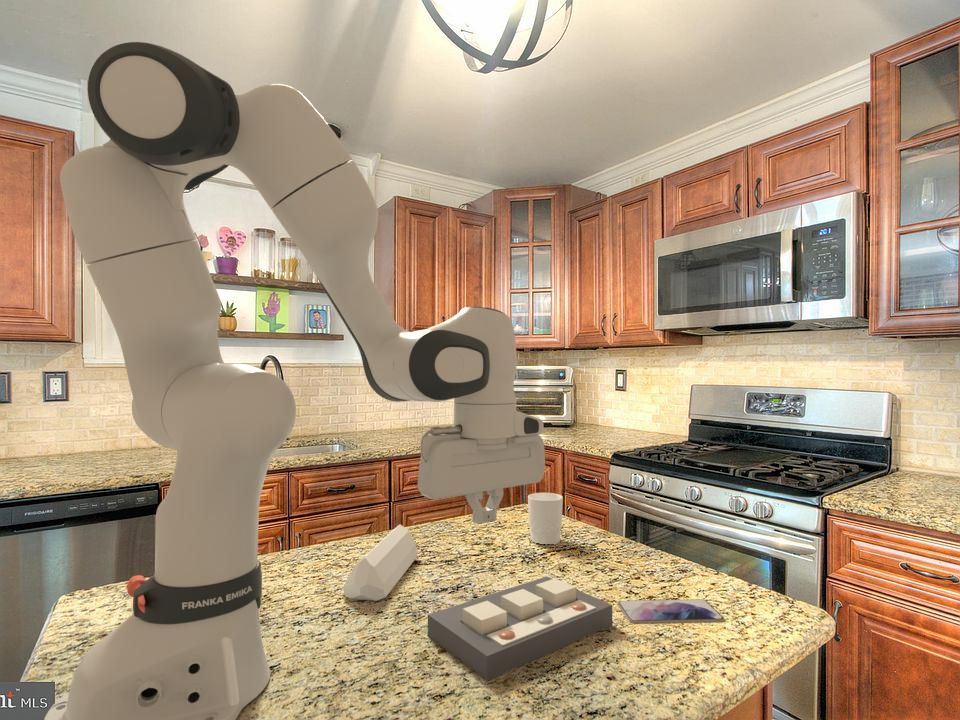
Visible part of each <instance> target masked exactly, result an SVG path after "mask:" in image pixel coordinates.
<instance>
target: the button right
mask: <svg viewBox="0 0 960 720" xmlns="http://www.w3.org/2000/svg"><path fill="white" fill-rule="evenodd" d="M576 587H577V586H574V585H571V584H570V583H567V582H565V581H563V580H560V579H558V578H552V580H549V581H546V582H543V583H540V584H537V585H536V595H537V596H539V597H541V598H543V602H545V603H547V604H549V605H551V606H553V607H559V606H561V605H564V604H567V603H569V602H572V601H575V600H576V589H577V588H576Z"/></svg>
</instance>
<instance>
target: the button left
mask: <svg viewBox="0 0 960 720" xmlns="http://www.w3.org/2000/svg"><path fill="white" fill-rule="evenodd" d="M463 624H464V625H466V626H467V627H469V628H470V629H472V630H473V631H475V632H476V633H478V634H479V635H484V634H487V633H489V632H492V631H495V630H497V629H500V628H503V627H505V626H507V611H505V610H503V609H501V608H499V607H498V606H496V605H494V604H492V603H491V602H489V601H485V602H482V603H479V604H476V605H473V606H469V607H466V608H463Z"/></svg>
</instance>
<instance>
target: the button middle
mask: <svg viewBox="0 0 960 720" xmlns="http://www.w3.org/2000/svg"><path fill="white" fill-rule="evenodd" d="M501 609H503V610H505V611H507V613H508V614H509V615H511V616H513V617H515V618H516V619H518V620H520V621H521V620H524V619H527V618H529V617H532V616H535V615H537V614H540V613H543V598H541V597H539V596H537V595H535V594H533V593H531V592H529V591H526V590H524V589H521V590H518V591H515V592H512V593H509V594H506V595H503V596H501Z"/></svg>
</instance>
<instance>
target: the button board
mask: <svg viewBox="0 0 960 720" xmlns="http://www.w3.org/2000/svg"><path fill="white" fill-rule="evenodd" d="M552 579H553V578H552V577H549V576H543V577H541V578H538V579H533V580H532V581H528V582H524V583H522V584H518V585H515V586H513V587H510V588H506V589H503V590H500V591H497V592H494V593H491V594H488V595H485V596H484V595H483V596H482V597H478V598H474V599H472V600H469V601H466V602H463V603H460V604H459V603H458V604H456V605H453V606H450V607H447V608H445V609H441V610H438V611H435V612H431V613H428V614H427V637H429V638H430V639H432V640H433V641H434V642H436V643H437V644H438V645H439V646H441V647H442V648H443V649H445V650H446V651H447V652H449V653H450V654H452V656H454V657H455V658H456V659H458V660H459V661H460V662H461V663H463V664H465V665H466V666H467V667H468V668H470V669H471V671H474V672H475V673H476V674H477V675H479V677H482V678H483V679H484V680H485V681H491V680H492V679H494V678H496V677H499V676H501V675H503V674H506V673H508V672H510V671H512V670H516V668H519V667H522V666H524V665H526V664H528V663H530V662H532V661H535V660H537V659H539V658H541V657H544V656H546V655H548V654H551V653H553V652H554V651H557V650H559V649H561V648H563V647H566V646H569V645H571V644H573V643H575V642H577V641H579V640H582V639H584V638H587V637H588V636H591V635H593V634H596V633H598V632H600V631H602V630H604V629H607V628H609V627H611V626H613V604H611V603H608V602H606V601H605V600H601V599H599V598H597V597H595V596H592V594H588V593H586V592H583V591H581V590H580V589H577V588H576V600H575V601H572V602H569V603H567V604H564V605H561V606H559V607H553V606H551V605H549V604H547V603H545V602H543V613H540V614H537V615H535V616H532V617H529V618H527V619H524V620H521V621H520V620H518V619H516V618H515V617H513V616H511V615H509V614H508V613H507V626H505V627H503V628H500V629H497V630H495V631H492V632H489V633H487V634H484V635H479V634H478V633H476V632H475V631H473V630H472V629H470V628H469V627H467V626H466V625H464V624H463V608H466V607H469V606H473V605H476V604H479V603H482V602H485V601H489V602H491V603H492V604H494V605H496V606H498V607H499V608H501V596H503V595H506V594H509V593H512V592H515V591H518V590H521V589H524V590H526V591H529V592H531V593H533V594H535V595H536V585H537V584H540V583H543V582H546V581H549V580H552Z"/></svg>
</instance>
